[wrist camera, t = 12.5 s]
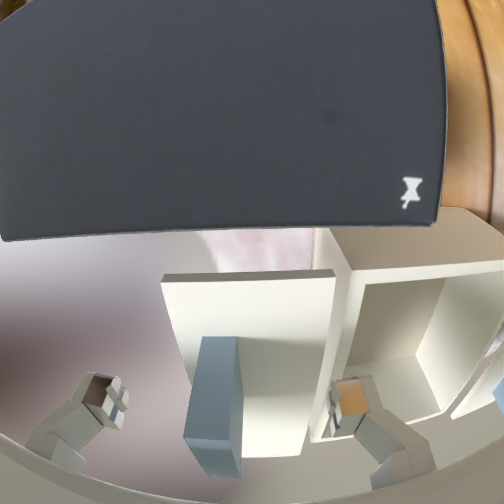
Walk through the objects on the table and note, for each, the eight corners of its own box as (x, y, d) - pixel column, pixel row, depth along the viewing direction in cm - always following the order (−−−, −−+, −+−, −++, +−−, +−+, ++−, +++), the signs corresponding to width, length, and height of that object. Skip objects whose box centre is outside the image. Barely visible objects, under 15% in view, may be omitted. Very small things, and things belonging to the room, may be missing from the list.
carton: (314, 204, 15) (352, 270, 9) (463, 207, 15) (531, 256, 9) (301, 369, 22) (310, 443, 16) (416, 353, 22) (443, 413, 15)
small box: (326, 40, 11) (437, -46, 2) (328, 156, 14) (444, 242, 5) (127, 57, 11) (-22, 26, 2) (136, 166, 14) (1, 256, 5)
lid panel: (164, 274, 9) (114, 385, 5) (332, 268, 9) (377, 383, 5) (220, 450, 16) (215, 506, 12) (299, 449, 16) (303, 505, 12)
